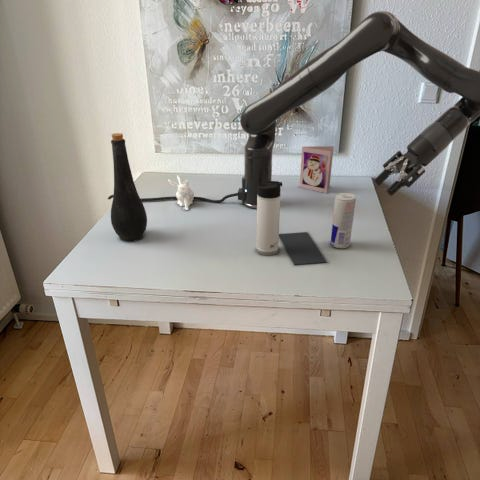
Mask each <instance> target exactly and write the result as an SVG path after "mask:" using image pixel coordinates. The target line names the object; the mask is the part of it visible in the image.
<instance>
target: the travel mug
mask: <svg viewBox="0 0 480 480" xmlns="http://www.w3.org/2000/svg"><path fill="white" fill-rule="evenodd" d="M282 187H283V182H282V181H277V180H271V181H267V182H263V183H261V184H259V185H258V194H257V196H258V197H257V209H256V252H257V253H258V254H259V255H262V256H273V255H276V254H277V253H278V252H279V242H280V240H279V239H280V237H279V234H280V220H281V219H280V217H281V196H282V195H281V191H282V189H281V188H282Z"/></svg>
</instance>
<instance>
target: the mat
mask: <svg viewBox="0 0 480 480" xmlns="http://www.w3.org/2000/svg"><path fill="white" fill-rule="evenodd" d="M279 239H280V241H281V242H282V244H283V246H284V249H285V250H286V252H287V254H288V255H289V257H290V259H291V261H292V263H293V265H294V266H302V265H303V266H304V265H315V264H326V263H327V260H326V259H325V257H324V255H323V254H322V252H321V251H320V249H319V248H318V246H317V245H316V244H315V242H314V241H313V239H312V238H311V236H310V235H309V233H308V231H305V232H303V231H302V232H294V233H293V232H291V233H289V232H288V233H279Z"/></svg>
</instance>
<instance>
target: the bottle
mask: <svg viewBox="0 0 480 480" xmlns="http://www.w3.org/2000/svg"><path fill="white" fill-rule="evenodd" d="M111 138H112V139H111V140H110V144H111V150H112V160H113V161H112V162H113V194H112V195H113V198H112V201H111V207H110V223H111V226H112V228H113V231H114V232H115V234H116V235H117V236H118V237H119V239H120V240H121V241H122V242H127V243H130V242H137V241H140V240H142V239H143V238H144V235H145V232H146V231H147V227H148V226H147V225H148V216H147V211H146V208H145V206H144V203H143V201H141V199H142V198H141V197H140V195H139V193H138V189H137V187H136V183H135V181H134V178H133V173H132V169H131V166H130V165H131V164H130V161H129V156H128V152H127V146H126V139H124V134H123V133H122V132H116V133H111Z"/></svg>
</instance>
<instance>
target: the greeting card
mask: <svg viewBox="0 0 480 480" xmlns="http://www.w3.org/2000/svg"><path fill="white" fill-rule="evenodd" d="M334 148H335V147H334V146H301V157H300V158H301V159H300V172H299V173H300V174H299V188H301V189H306V190H310V191H315V192H320V193H325V194H327V193H328V188H330V186H331V177H332V167H333V156H334Z"/></svg>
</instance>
